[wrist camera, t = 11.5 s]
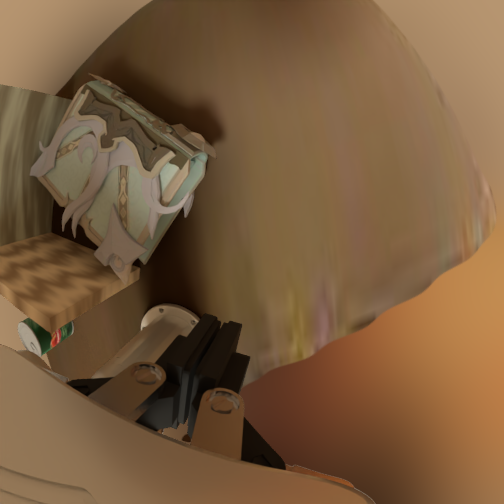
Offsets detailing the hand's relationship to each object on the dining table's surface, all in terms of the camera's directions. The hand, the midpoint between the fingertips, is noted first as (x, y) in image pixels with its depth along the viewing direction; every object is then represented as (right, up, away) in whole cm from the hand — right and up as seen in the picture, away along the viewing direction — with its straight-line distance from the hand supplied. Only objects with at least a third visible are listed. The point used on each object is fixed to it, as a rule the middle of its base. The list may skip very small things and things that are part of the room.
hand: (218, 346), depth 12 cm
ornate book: (-19, +18, +28) cm, 38 cm away
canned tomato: (-40, -11, +38) cm, 56 cm away
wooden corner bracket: (-25, +16, +29) cm, 41 cm away
